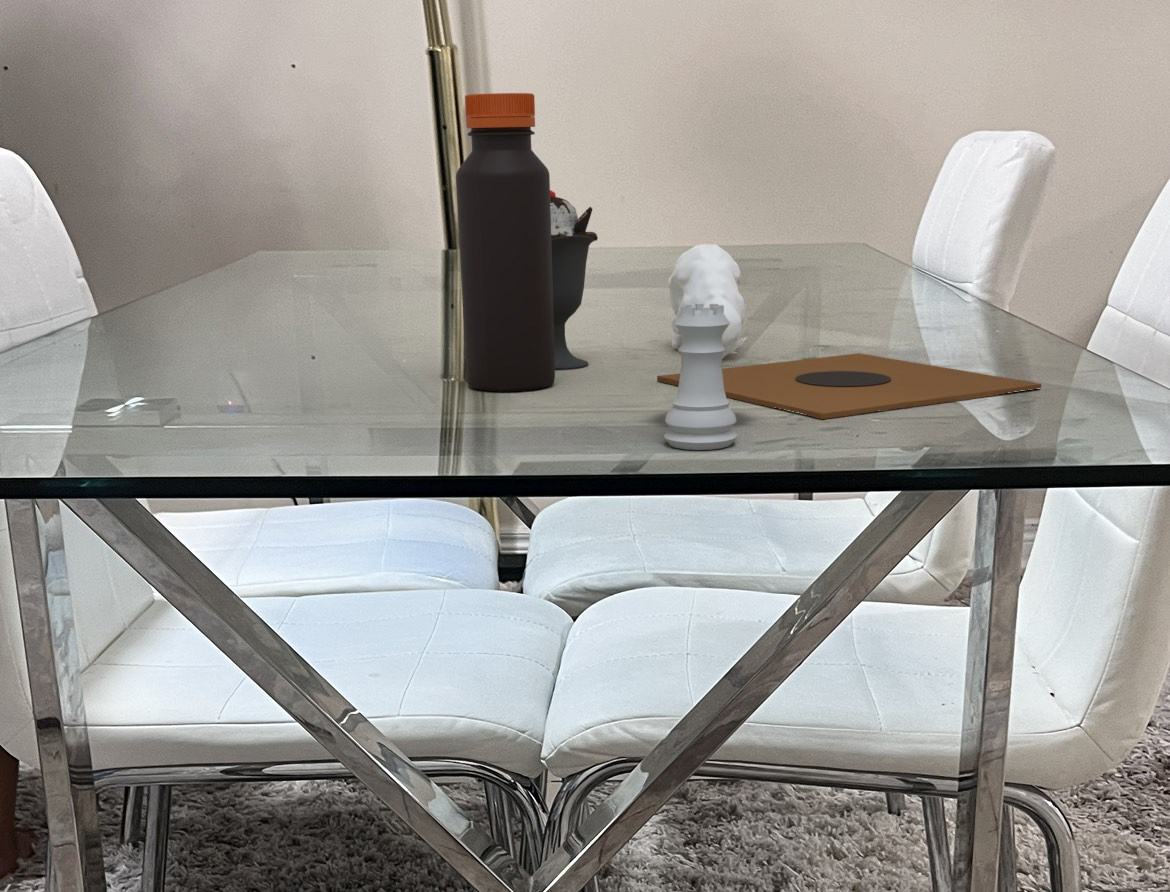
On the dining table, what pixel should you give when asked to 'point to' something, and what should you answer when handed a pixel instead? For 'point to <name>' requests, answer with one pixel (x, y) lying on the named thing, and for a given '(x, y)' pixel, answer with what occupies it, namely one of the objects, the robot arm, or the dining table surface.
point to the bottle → (505, 248)
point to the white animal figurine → (708, 289)
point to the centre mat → (855, 385)
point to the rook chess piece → (701, 383)
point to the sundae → (567, 271)
